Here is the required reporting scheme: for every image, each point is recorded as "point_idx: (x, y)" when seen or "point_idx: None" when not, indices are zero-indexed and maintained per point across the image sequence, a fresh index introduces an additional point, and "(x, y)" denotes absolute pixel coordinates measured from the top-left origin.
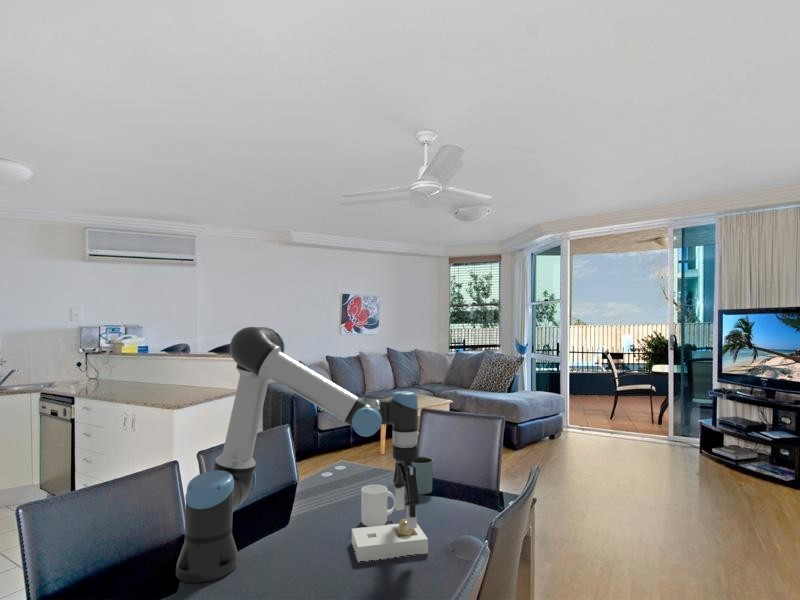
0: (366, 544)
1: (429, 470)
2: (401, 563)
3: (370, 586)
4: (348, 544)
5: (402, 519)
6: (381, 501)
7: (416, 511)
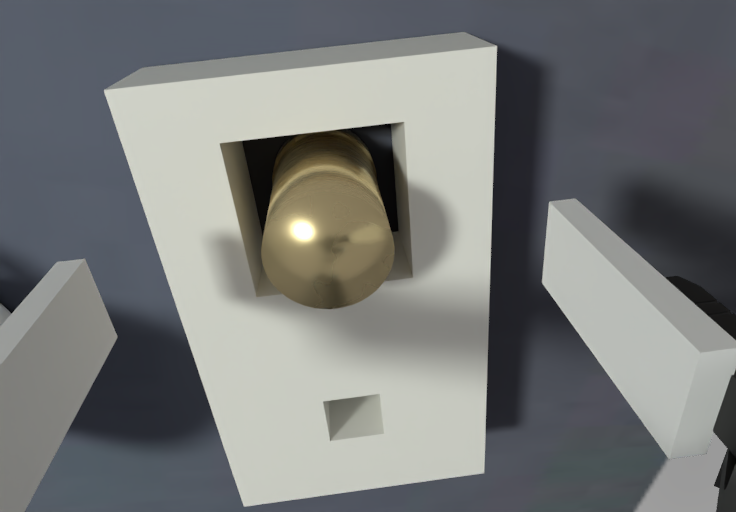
0: (465, 440)
1: None
2: (536, 225)
3: None
4: None
5: (282, 278)
6: None
7: (671, 284)
